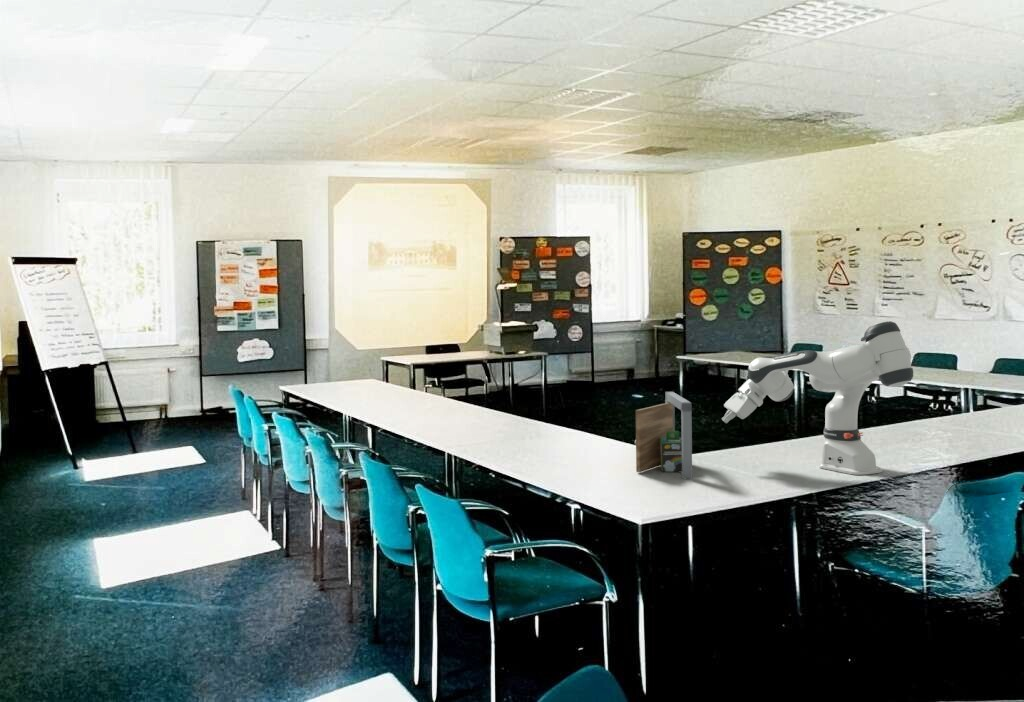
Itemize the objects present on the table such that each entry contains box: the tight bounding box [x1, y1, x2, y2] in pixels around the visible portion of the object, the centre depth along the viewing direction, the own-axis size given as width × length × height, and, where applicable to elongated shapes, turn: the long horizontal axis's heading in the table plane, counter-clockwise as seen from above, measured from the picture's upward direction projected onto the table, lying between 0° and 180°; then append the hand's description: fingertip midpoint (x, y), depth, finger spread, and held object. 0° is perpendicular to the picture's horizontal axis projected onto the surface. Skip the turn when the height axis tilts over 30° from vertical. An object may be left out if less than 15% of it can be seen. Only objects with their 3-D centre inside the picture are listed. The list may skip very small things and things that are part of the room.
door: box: [634, 402, 673, 473], centre depth 307 cm, size 3×24×23 cm, turn 138°
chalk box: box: [660, 430, 682, 473], centre depth 303 cm, size 9×9×15 cm
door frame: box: [664, 391, 693, 479], centre depth 304 cm, size 3×32×27 cm, turn 0°
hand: (723, 421), depth 302 cm, fingers closed
